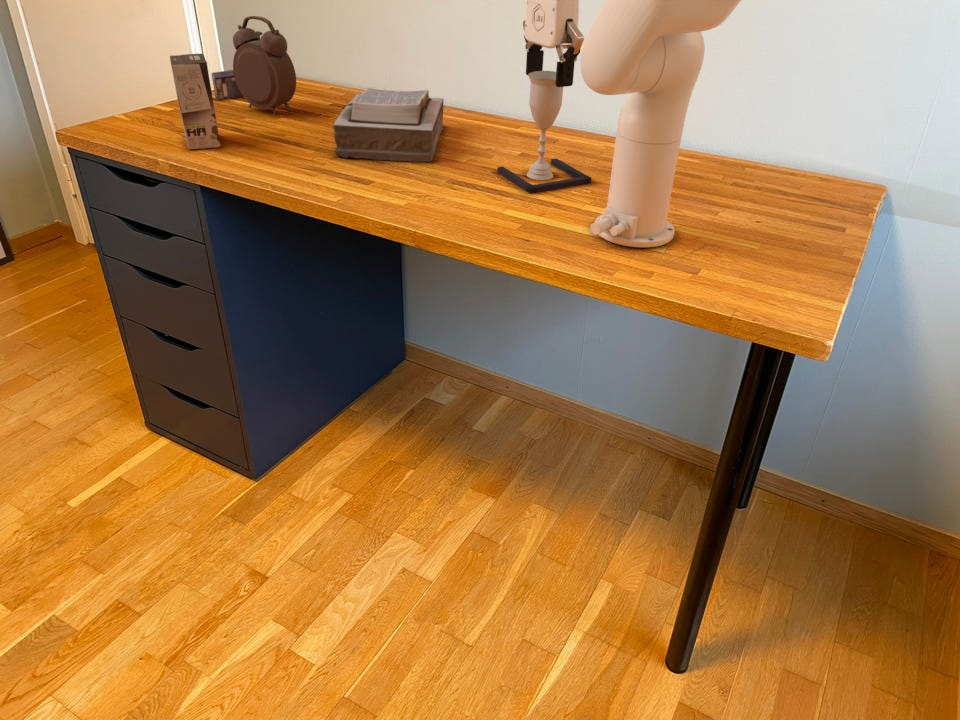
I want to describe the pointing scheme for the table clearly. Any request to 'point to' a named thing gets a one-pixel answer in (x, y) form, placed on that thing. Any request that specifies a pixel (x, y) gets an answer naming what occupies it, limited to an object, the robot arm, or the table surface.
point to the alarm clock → (263, 67)
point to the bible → (389, 126)
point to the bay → (578, 180)
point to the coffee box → (195, 100)
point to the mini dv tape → (225, 85)
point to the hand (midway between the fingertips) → (548, 80)
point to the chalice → (543, 115)
